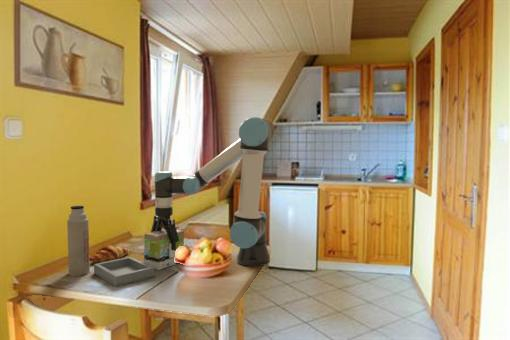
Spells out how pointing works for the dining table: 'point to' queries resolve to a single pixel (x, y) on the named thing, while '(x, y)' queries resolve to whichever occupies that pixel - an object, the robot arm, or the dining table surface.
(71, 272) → the thermos bottle
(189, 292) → the dining table surface
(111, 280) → the tray
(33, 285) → the dining table surface
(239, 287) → the dining table surface
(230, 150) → the robot arm
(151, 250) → the tea box
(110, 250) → the croissant
